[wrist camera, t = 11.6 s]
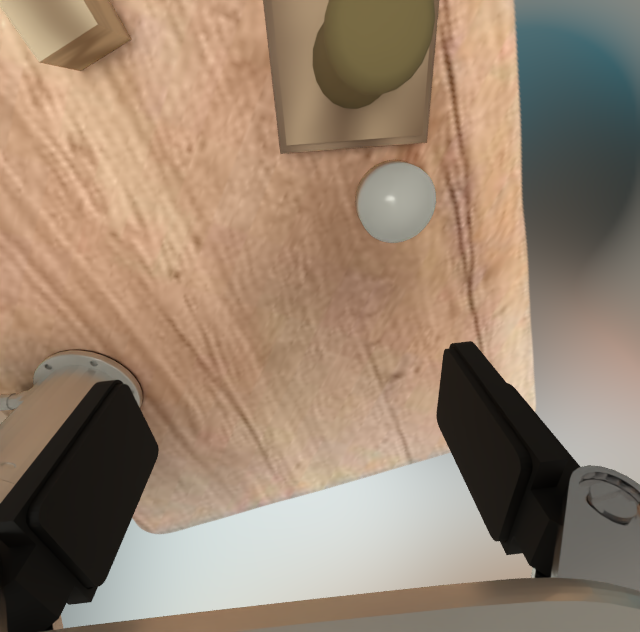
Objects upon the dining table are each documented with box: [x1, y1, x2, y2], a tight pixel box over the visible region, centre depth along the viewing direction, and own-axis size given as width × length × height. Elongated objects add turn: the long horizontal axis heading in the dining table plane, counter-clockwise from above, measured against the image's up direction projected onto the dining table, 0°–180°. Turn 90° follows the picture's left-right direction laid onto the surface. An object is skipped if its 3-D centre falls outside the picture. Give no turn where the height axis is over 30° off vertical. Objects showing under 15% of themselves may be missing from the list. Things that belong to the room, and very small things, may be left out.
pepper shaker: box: [313, 0, 435, 109], centre depth 19 cm, size 6×6×11 cm
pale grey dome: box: [355, 160, 436, 243], centre depth 32 cm, size 7×7×3 cm
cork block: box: [0, 0, 131, 71], centre depth 23 cm, size 5×5×5 cm
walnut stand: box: [263, 0, 439, 154], centre depth 26 cm, size 12×12×4 cm
